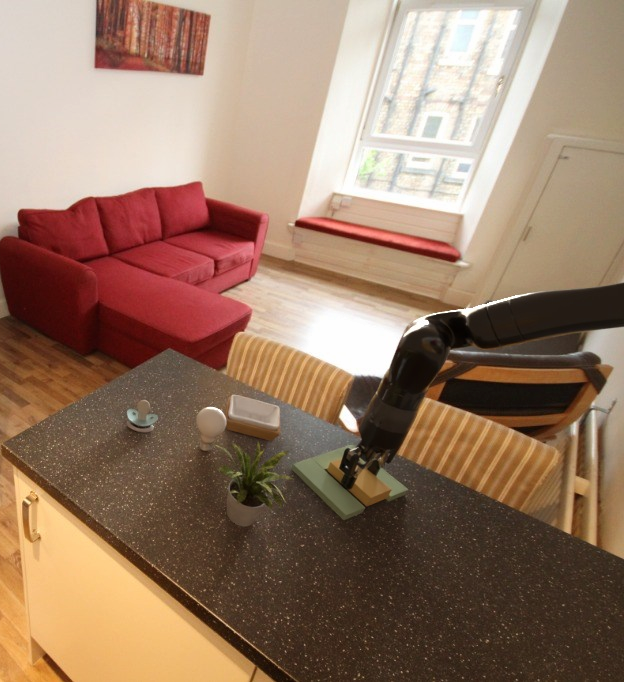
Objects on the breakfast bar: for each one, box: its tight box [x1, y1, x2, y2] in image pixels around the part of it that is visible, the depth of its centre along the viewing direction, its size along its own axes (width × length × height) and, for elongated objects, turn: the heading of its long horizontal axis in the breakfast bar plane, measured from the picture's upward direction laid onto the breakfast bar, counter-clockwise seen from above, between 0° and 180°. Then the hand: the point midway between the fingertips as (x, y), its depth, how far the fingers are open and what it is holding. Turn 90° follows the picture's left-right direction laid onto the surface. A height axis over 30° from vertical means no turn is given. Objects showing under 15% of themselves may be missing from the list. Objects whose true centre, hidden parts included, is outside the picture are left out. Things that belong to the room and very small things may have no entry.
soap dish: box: [224, 394, 281, 442], centre depth 106 cm, size 12×10×5 cm
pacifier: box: [126, 399, 159, 433], centre depth 103 cm, size 7×6×6 cm
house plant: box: [211, 440, 294, 528], centre depth 80 cm, size 14×14×16 cm
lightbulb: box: [195, 406, 227, 452], centre depth 96 cm, size 6×6×11 cm
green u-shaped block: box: [290, 444, 409, 521], centre depth 93 cm, size 18×14×2 cm
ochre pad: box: [327, 458, 392, 507], centre depth 91 cm, size 6×10×2 cm, turn 24°
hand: (357, 481), depth 91 cm, fingers closed on ochre pad, 6 cm apart
